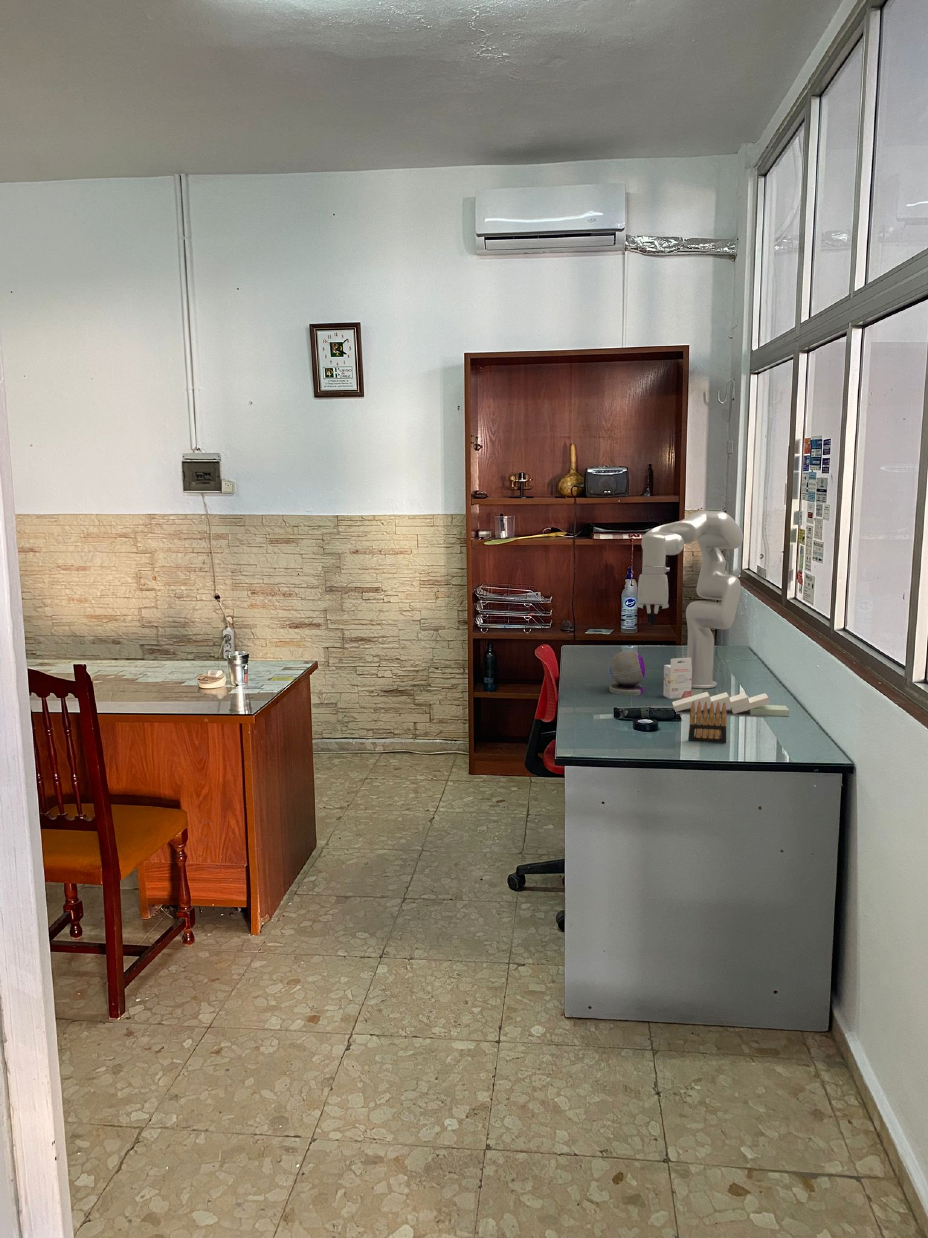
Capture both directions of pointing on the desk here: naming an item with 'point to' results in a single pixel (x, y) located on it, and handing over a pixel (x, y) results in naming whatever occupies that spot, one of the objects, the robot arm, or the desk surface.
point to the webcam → (627, 673)
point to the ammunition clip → (707, 724)
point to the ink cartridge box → (678, 678)
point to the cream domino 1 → (688, 701)
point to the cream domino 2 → (716, 700)
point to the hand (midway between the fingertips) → (651, 624)
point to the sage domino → (770, 710)
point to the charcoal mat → (728, 713)
